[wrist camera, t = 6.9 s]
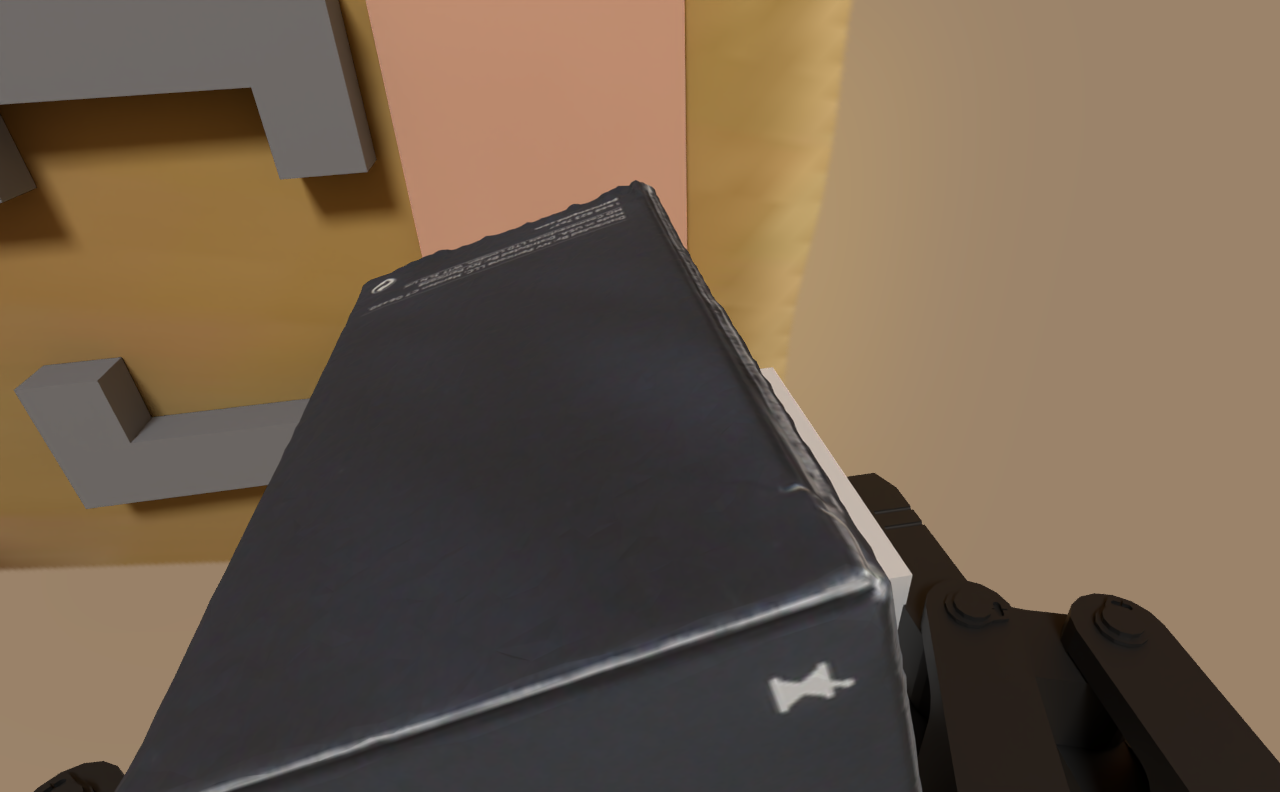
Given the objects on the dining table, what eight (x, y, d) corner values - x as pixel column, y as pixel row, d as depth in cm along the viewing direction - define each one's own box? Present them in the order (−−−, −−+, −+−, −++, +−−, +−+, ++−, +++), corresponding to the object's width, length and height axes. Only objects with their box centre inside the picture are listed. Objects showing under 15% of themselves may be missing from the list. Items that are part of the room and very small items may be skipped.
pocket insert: (108, 480, 31) (85, 508, 30) (-164, 2, 22) (-222, 4, 20) (442, 437, 33) (439, 462, 31) (332, -24, 23) (318, -24, 22)
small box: (335, 282, 13) (-4, 865, 5) (650, 167, 13) (935, 540, 4) (538, 618, 19) (563, 1173, 10) (760, 540, 19) (982, 1033, 10)
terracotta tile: (461, 426, 33) (461, 433, 32) (366, -8, 24) (363, -8, 23) (686, 398, 34) (688, 404, 34) (680, -25, 25) (684, -25, 24)
